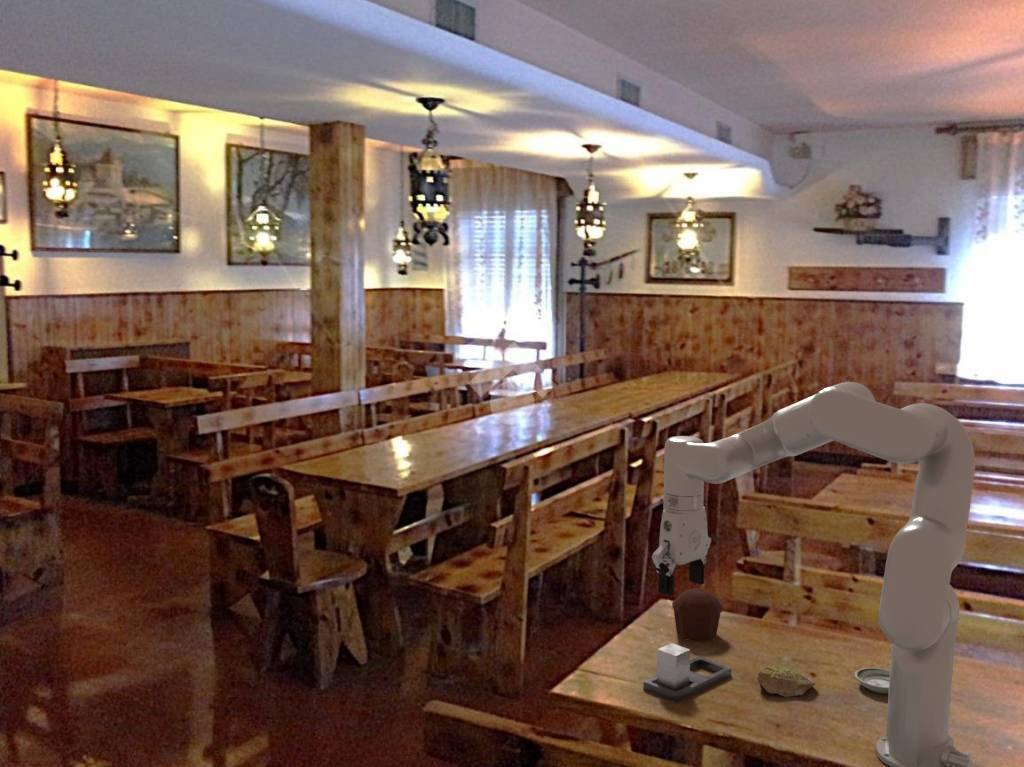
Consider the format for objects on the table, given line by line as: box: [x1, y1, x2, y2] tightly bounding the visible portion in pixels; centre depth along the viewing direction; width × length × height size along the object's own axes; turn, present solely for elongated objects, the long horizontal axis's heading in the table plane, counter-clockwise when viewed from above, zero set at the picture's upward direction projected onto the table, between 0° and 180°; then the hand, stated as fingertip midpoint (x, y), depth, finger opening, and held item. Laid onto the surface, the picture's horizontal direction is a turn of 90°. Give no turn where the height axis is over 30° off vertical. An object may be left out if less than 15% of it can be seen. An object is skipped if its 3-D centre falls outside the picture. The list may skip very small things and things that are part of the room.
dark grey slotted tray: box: [643, 656, 732, 703], centre depth 191 cm, size 8×18×2 cm, turn 133°
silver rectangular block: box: [656, 642, 691, 692], centre depth 187 cm, size 4×4×8 cm
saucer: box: [853, 667, 890, 695], centre depth 189 cm, size 10×10×2 cm
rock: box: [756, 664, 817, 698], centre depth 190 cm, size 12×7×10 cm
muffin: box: [671, 587, 724, 642], centre depth 215 cm, size 12×11×10 cm
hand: (681, 588), depth 185 cm, fingers open, 9 cm apart
